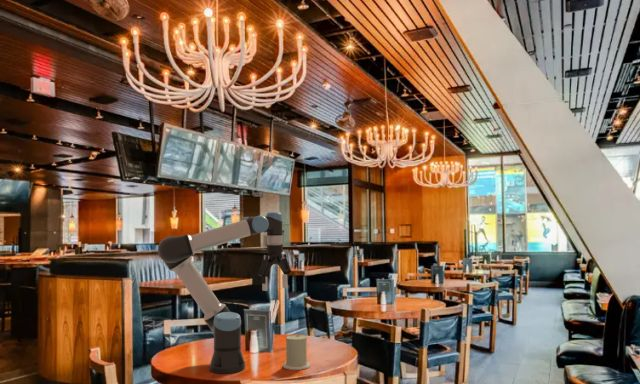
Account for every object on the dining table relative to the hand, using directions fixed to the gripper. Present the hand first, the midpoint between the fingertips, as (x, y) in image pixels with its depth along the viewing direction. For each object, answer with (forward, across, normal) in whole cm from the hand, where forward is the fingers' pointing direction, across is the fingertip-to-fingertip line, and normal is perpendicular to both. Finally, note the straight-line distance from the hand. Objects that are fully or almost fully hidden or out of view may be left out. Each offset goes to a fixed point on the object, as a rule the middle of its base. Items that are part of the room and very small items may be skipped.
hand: (275, 289), depth 245 cm
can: (+31, +6, +19) cm, 37 cm away
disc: (+32, +6, +19) cm, 38 cm away
